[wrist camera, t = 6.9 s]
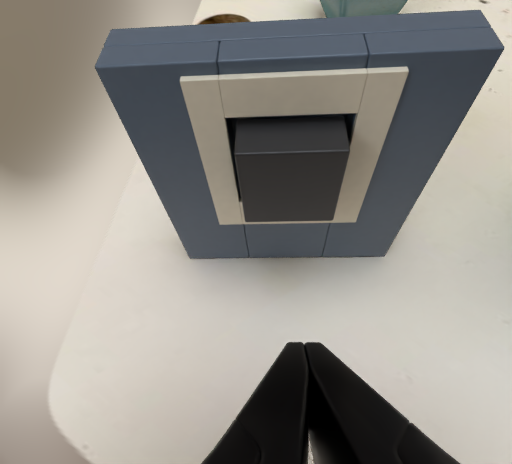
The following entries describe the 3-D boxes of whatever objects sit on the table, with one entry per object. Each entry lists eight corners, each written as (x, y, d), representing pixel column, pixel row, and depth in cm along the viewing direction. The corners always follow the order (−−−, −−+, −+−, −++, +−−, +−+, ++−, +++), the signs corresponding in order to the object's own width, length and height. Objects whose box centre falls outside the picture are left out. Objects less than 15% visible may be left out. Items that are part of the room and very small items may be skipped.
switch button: (333, 221, 17) (351, 151, 13) (245, 223, 17) (233, 154, 13) (329, 189, 18) (344, 115, 14) (246, 191, 18) (236, 118, 14)
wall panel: (385, 260, 24) (509, 52, 11) (189, 262, 25) (90, 71, 12) (378, 226, 25) (480, 8, 12) (193, 229, 26) (110, 28, 13)
